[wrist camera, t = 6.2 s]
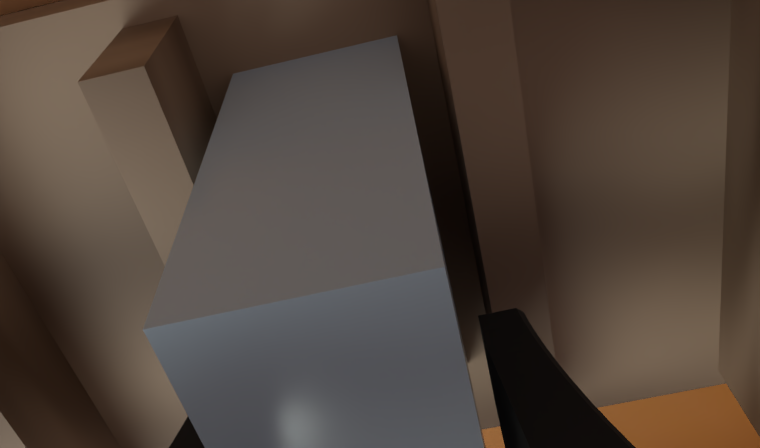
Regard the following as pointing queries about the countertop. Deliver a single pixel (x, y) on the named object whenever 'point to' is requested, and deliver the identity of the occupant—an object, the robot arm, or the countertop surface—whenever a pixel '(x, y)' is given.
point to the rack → (445, 176)
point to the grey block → (315, 269)
